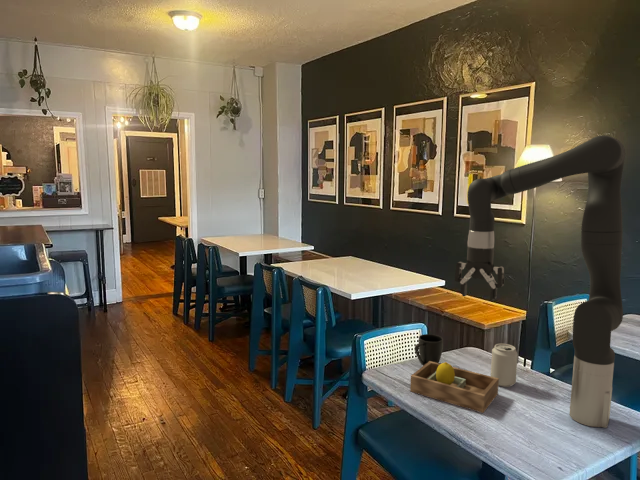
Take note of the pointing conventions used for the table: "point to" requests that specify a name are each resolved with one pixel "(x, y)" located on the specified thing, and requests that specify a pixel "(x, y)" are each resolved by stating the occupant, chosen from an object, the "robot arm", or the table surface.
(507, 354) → the can
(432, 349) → the mug
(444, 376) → the lemon
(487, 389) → the caddy
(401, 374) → the table surface
